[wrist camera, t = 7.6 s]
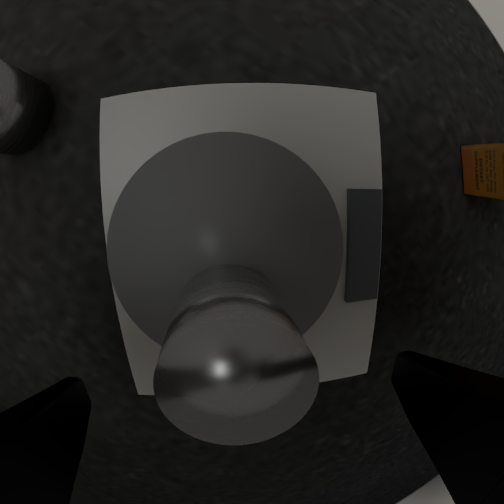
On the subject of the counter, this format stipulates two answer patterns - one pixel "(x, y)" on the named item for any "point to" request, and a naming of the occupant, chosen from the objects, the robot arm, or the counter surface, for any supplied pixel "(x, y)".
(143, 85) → the counter surface
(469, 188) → the supplement box
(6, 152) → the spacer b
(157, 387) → the spacer
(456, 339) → the counter surface
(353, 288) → the scale
